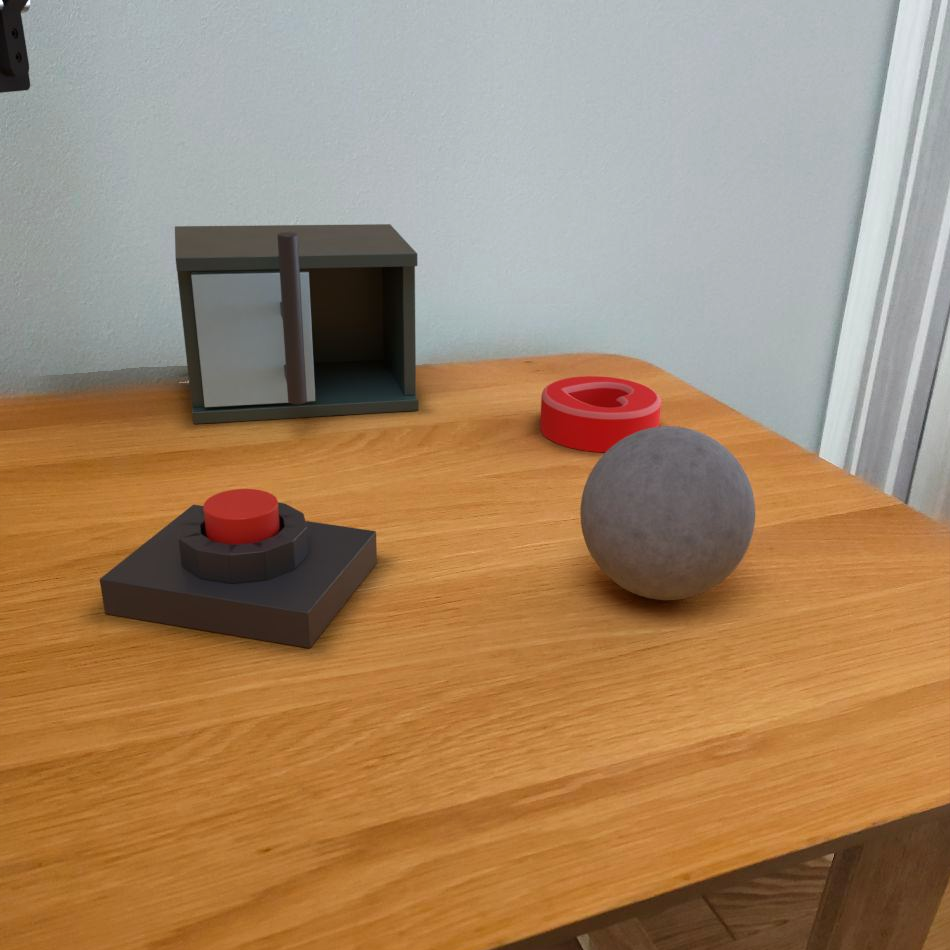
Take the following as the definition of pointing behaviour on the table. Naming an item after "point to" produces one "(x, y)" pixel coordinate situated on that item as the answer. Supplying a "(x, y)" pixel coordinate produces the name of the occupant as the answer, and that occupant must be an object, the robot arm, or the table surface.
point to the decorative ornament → (596, 411)
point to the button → (241, 516)
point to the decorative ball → (667, 513)
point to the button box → (243, 578)
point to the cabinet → (320, 313)
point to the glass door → (256, 333)
